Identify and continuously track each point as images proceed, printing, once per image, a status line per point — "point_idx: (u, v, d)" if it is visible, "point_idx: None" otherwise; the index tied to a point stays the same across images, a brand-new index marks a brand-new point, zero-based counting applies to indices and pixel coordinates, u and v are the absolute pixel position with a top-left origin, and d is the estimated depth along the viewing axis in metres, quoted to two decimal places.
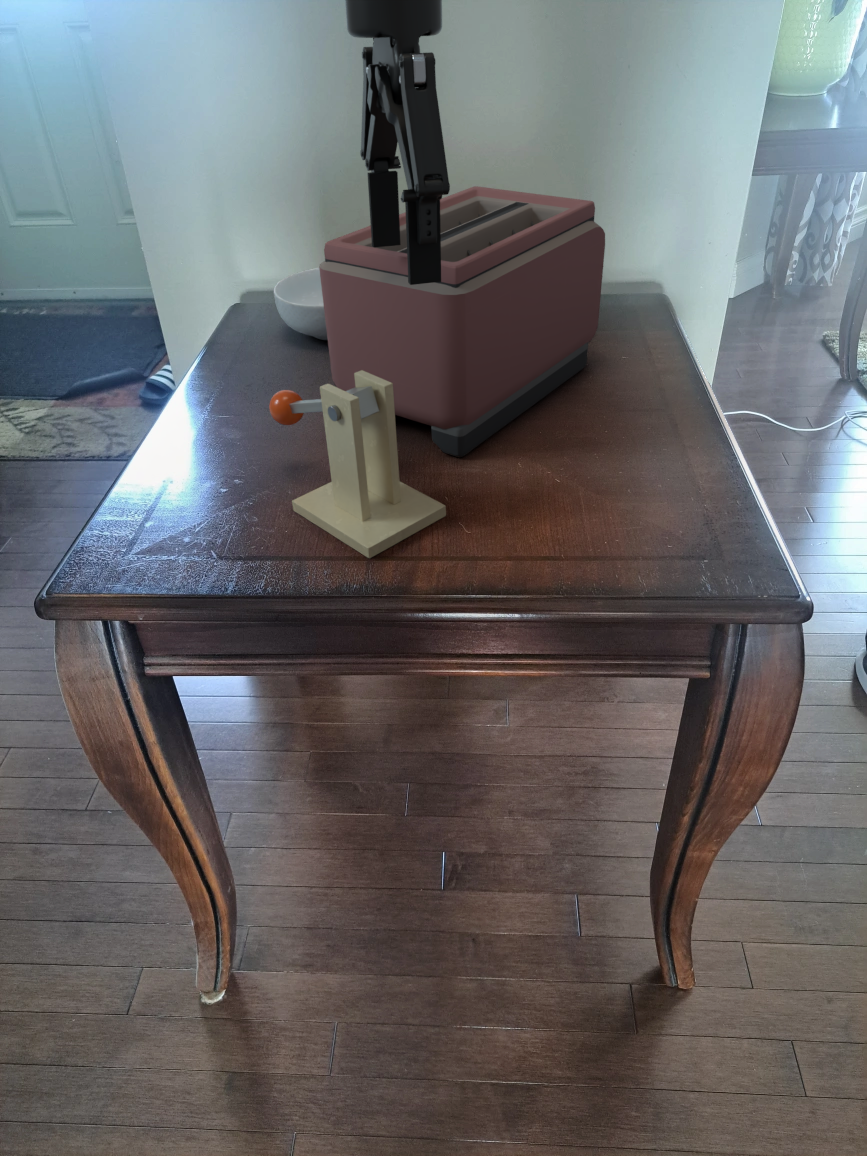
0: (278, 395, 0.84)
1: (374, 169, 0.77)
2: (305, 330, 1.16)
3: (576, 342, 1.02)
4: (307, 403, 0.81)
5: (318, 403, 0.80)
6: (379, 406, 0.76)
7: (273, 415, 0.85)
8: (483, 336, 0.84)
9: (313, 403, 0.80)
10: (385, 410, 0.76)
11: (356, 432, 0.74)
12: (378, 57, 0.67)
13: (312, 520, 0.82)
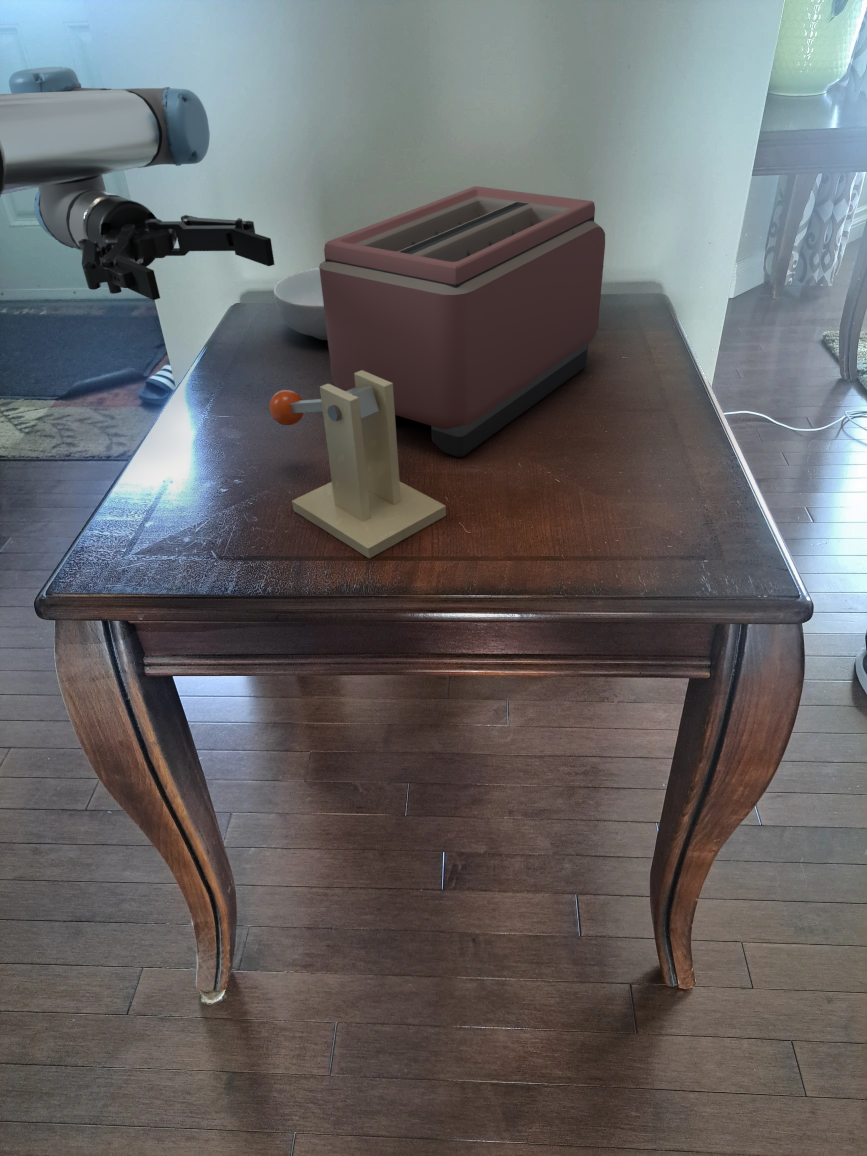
0: (278, 395, 0.84)
1: (115, 265, 0.84)
2: (305, 330, 1.16)
3: (576, 342, 1.02)
4: (307, 403, 0.81)
5: (318, 403, 0.80)
6: (379, 406, 0.76)
7: (273, 415, 0.85)
8: (483, 336, 0.84)
9: (313, 403, 0.80)
10: (385, 410, 0.76)
11: (356, 432, 0.74)
12: None
13: (312, 520, 0.82)
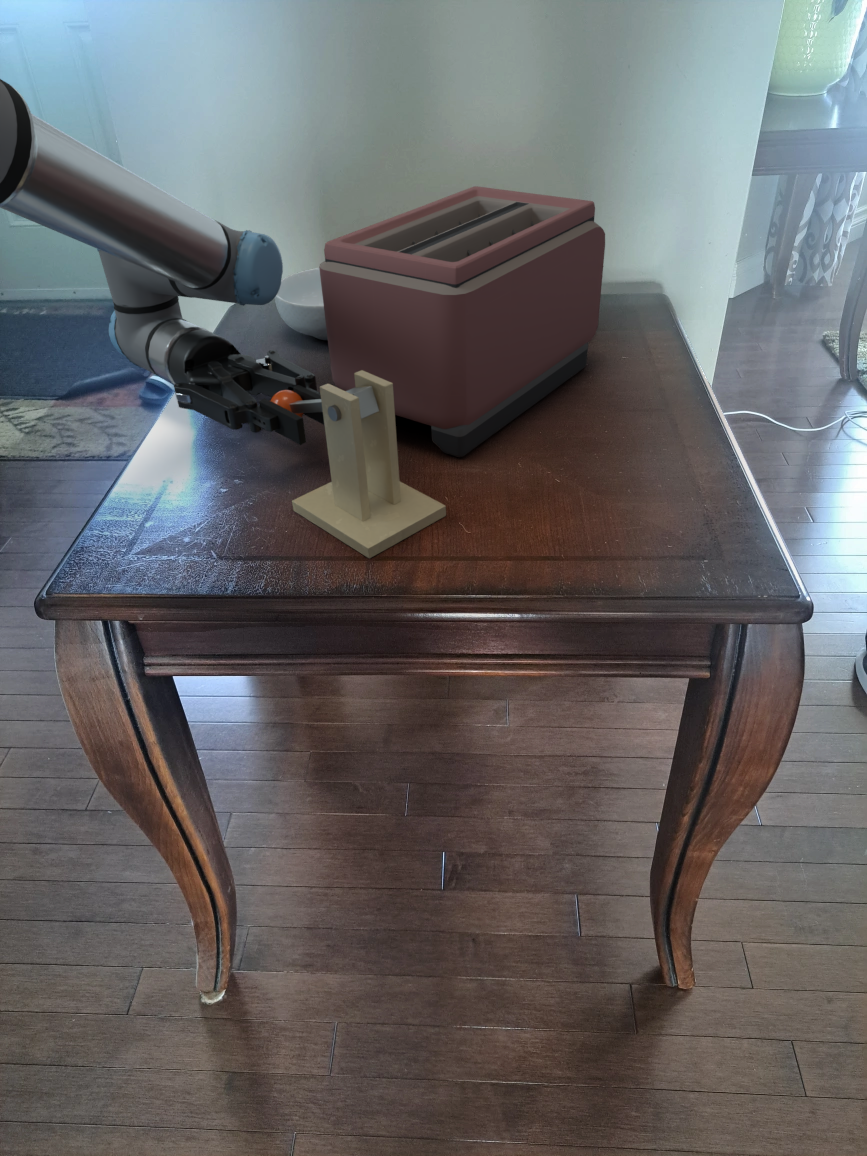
0: (278, 395, 0.84)
1: (258, 406, 0.85)
2: (305, 330, 1.16)
3: (576, 342, 1.02)
4: (307, 403, 0.81)
5: (318, 403, 0.80)
6: (379, 406, 0.76)
7: None
8: (483, 336, 0.84)
9: (313, 403, 0.80)
10: (385, 410, 0.76)
11: (356, 432, 0.74)
12: (208, 368, 0.92)
13: (312, 520, 0.82)
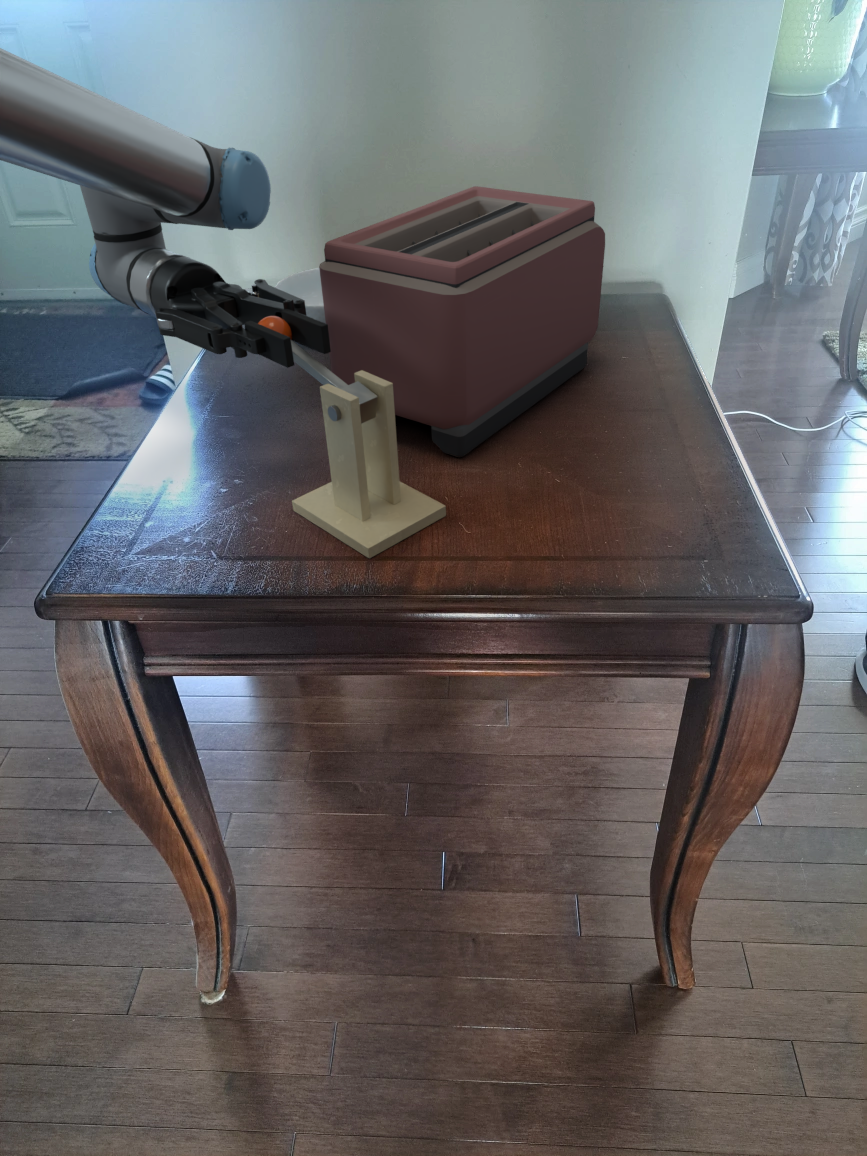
0: (270, 325, 0.80)
1: (243, 329, 0.80)
2: None
3: (576, 342, 1.02)
4: (301, 358, 0.79)
5: (314, 370, 0.78)
6: (379, 406, 0.76)
7: None
8: (483, 336, 0.84)
9: (308, 364, 0.78)
10: (385, 410, 0.76)
11: (356, 432, 0.74)
12: (191, 296, 0.87)
13: (312, 520, 0.82)
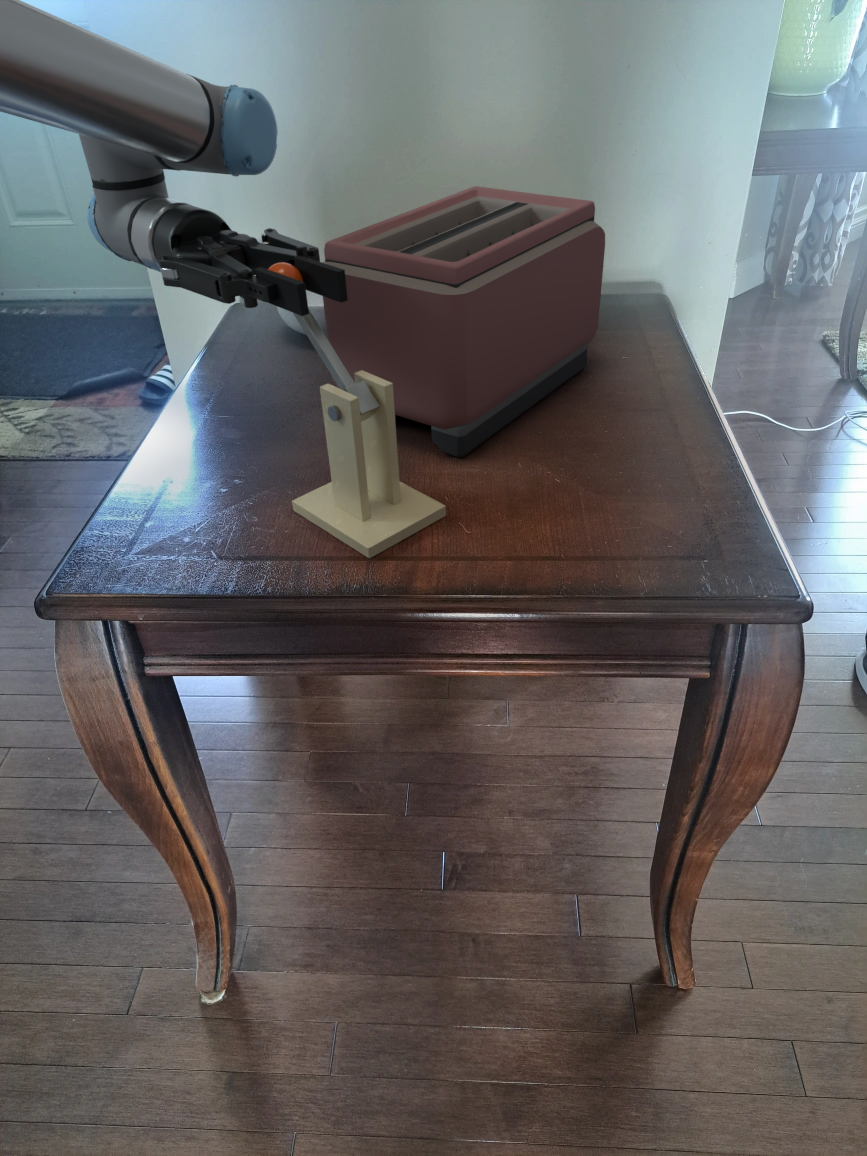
0: None
1: (254, 276, 0.74)
2: None
3: (576, 342, 1.02)
4: (310, 329, 0.75)
5: (321, 349, 0.75)
6: None
7: None
8: (483, 336, 0.84)
9: (316, 340, 0.75)
10: (385, 410, 0.76)
11: (356, 432, 0.74)
12: (197, 245, 0.81)
13: (312, 520, 0.82)
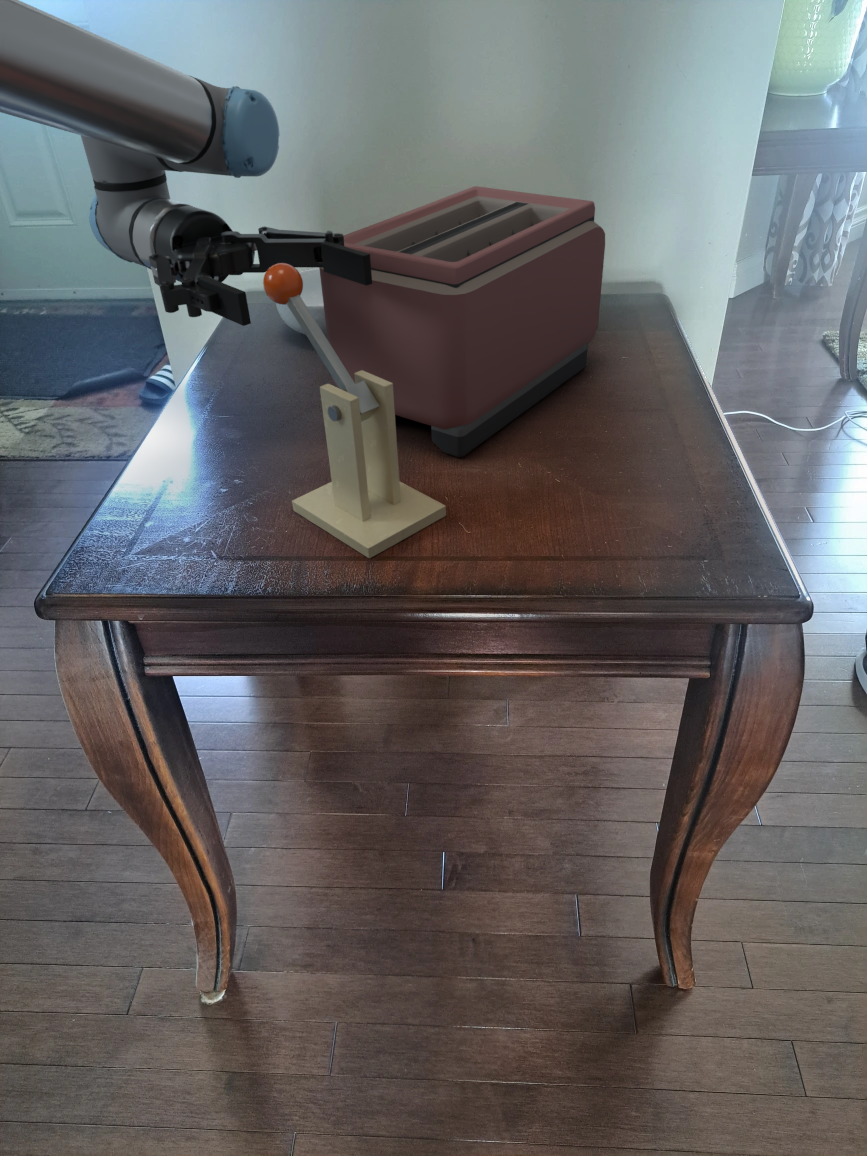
0: (284, 280, 0.74)
1: (197, 285, 0.73)
2: None
3: (576, 342, 1.02)
4: (309, 329, 0.75)
5: (321, 349, 0.75)
6: (379, 406, 0.76)
7: (266, 290, 0.75)
8: (483, 336, 0.84)
9: (316, 340, 0.75)
10: (385, 410, 0.76)
11: (356, 432, 0.74)
12: None
13: (312, 520, 0.82)
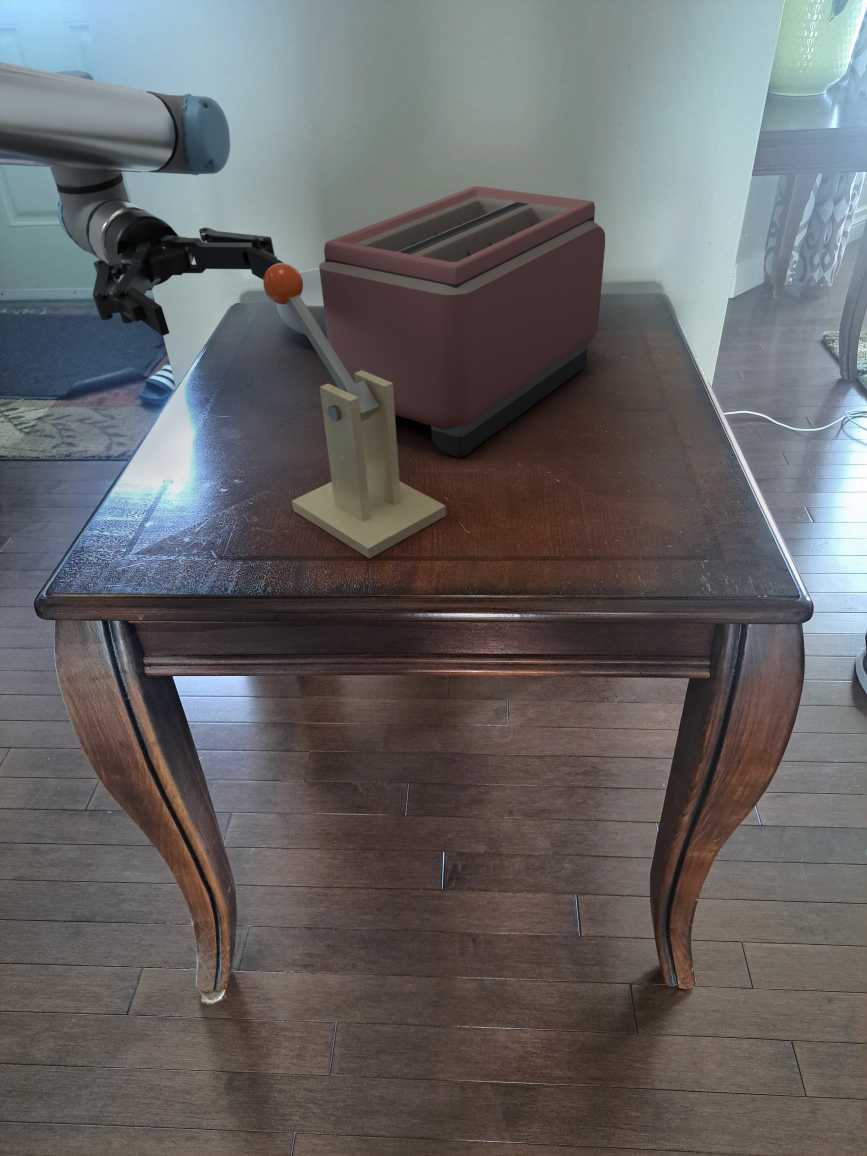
0: (284, 280, 0.74)
1: (127, 295, 0.82)
2: None
3: (576, 342, 1.02)
4: (309, 329, 0.75)
5: (321, 349, 0.75)
6: (379, 406, 0.76)
7: (266, 290, 0.75)
8: (483, 336, 0.84)
9: (316, 340, 0.75)
10: (385, 410, 0.76)
11: (356, 432, 0.74)
12: None
13: (312, 520, 0.82)
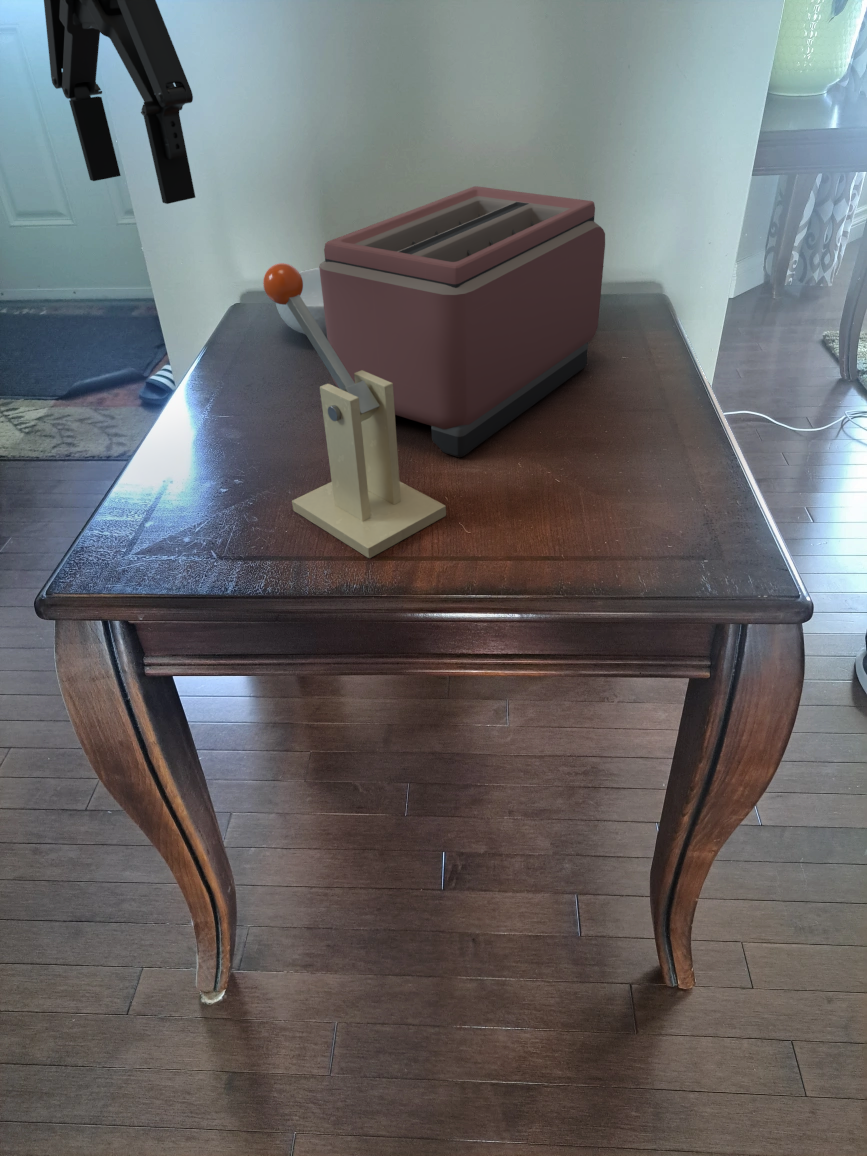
0: (284, 280, 0.74)
1: (75, 96, 0.74)
2: None
3: (576, 342, 1.02)
4: (309, 329, 0.75)
5: (321, 349, 0.75)
6: (379, 406, 0.76)
7: (266, 290, 0.75)
8: (483, 336, 0.84)
9: (316, 340, 0.75)
10: (385, 410, 0.76)
11: (356, 432, 0.74)
12: None
13: (312, 520, 0.82)
